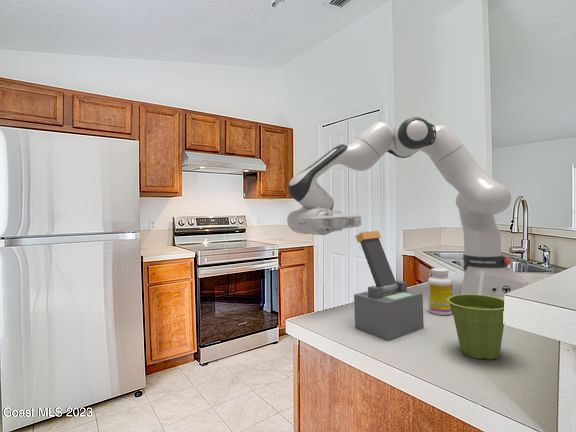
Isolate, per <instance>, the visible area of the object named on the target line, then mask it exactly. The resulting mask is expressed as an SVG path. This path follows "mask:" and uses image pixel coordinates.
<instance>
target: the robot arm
mask: <svg viewBox="0 0 576 432" xmlns="http://www.w3.org/2000/svg"><path fill="white" fill-rule="evenodd" d="M419 151H421V152H424V153H425V154H426V155H427V157H429V159H431V161H432V163H433V164H434V166H435V167H436V169H437V170H438V172H439V173H440V174H441V175H442V177H443V179H445V181H446V183H448V184H449V185H451V187H453V188H454V189H455V190H456V191H457V192H458V193H457V194H456V197H455V205H456V206H457V209H458V213H459V218H460V222H461V226H462V231H463V247H464V249H463V251H464V253H463V255H462V268H463V280H462V285H461V289H460V293H459V294H478V295H487V296H493V297H498V298H501V299H504V295H505V294H506V293H508V292H511V291H513V290H516V289H519V288H522V287H524V286H527V285H529V282H528V280H527V279H526V278H524V277H523V276H522V275H520V274H519V273H518V272H516V271H515V270H514V269H512V268H511V267H509V266H511V264H512V262H513V260H512V259H511V258H509V257H506V256H504V255H502V241H501V239H502V238H501V237H502V236H501V235H502V234H501V231H500V229H499V228H498V226H497V223H496V221H495V220H496V219H495V215H498V214H500V213H503V212H504V211H505V210H507V209H508V208H509V206H510V204H511V202H512V195H511V192H510V189H508V188H507V187H506V186H505V185H503V184H501V183H500V182H498V181H497V180H495V178H493V176H491V175H490V174H489V173H488V172H487V171H486V170H485V169H484V168H482V166H480V164H479V163H478V162H477V161H476V160H475V159H474V157H473V156H472V155H471V153H470V152H469V150H468V149H467V147H466V146H465V145H464V144H463V142H462V141H461V139H460V138H459V137H458V136H457V134H455V132H453V131H452V130H451V129H450V128H449V127H448V126H446V125H444V124H437V125H434V124H432V123H430V122H428V121H427V120H426V119H424V118H422V117H410V118H408V119H405V120H404V121H403V122H402V123H401V124H400V125H399V126H398V127H392V126H390V125H389V124H388V123H387V122H384V121H376V122H375V123H373V124H371V125H370V126H369V127H368V128H367V129H365V130H364V131H363V132H362V133H361V134H360V135H358V136H357V138H355V139H354V140H353V141H352V142H350V143H349V144H339V145H336V146H335V147H333V148H331V149H330V150H328V152H326V153H324V155H323V156H320V158H318V160H316V161H314V162H313V163H312V164H311V165H310V166H308V167H307V168H305V169H304V170H302V171H301V172H298V173H297V174H296V175H294V176H293V177H292V178H291V179H290V180H289V182H288V186H287V187H288V188H287V189H288V196H290V197H291V198H292V199H293V200H294V201H296V202H297V203H299V204H300V205H301V206H302V207H300V208H299V209H297V210H296V209H295V210H293V211H291V212H289V213H288V215H287V219H286V222H287V226H288V228H289V229H290V230H291V231H292V232H295V233H298V234H302V235H315V236H317V235H319V236H326V235H328V234H331V233H333V232H337V231H338V232H339V231H343V229H348V228H349V229H350V228H358V227H361V226H362V217H361V215H360V214H356V213H349V212H348V213H347V212H343V211H339V210H333V209H334V205H335V203H334V199H333V197H332V196H331V195H330V194H329V193H328V192H327V191H326V190H325V189H324V188H323V187H322V186H321V185H320V184H319V183H318V182H317V179H318V178H319V177H320V176H322V175H323V174H324V173H326V172H327V171H328V170H329V169H331V168H332V167H333V166H336V165H343V166H344V167H347V168H349V169H351V170H353V171H359V172H362V171H363V172H364V171H367V170H369V169H371V168H372V167H373V166H375V164H377V162H378V161H379V160H380V159H381V157H383V156H384V155H385V154H386V153H388V154H391V155H393V156H394V157H396V158H401V159H406V158H410V157H412V156H413V155H415V154H417V153H418V152H419Z"/></svg>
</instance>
